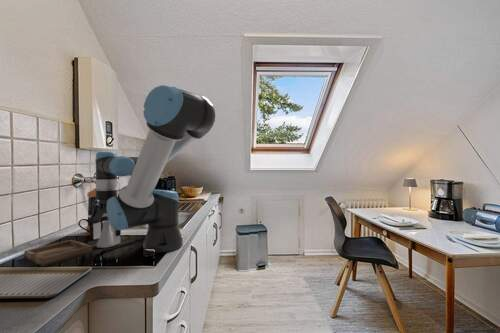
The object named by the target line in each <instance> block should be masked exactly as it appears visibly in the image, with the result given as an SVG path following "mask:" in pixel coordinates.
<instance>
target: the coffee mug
mask: <svg viewBox="0 0 500 333" xmlns="http://www.w3.org/2000/svg"><path fill="white" fill-rule="evenodd" d="M90 217H91V215H89V216H88V215H87V218H81V219H80V220H78V222H77V223H78V224H77V225H78V226H79V228H81V229H82V230H84V231H85V232H86V231H88V232H89V233H90V235H89V236H90V240H94V239H93V223H92V221H90ZM93 218H94V217H93ZM107 220H109V219H108V216H107V214H106V213H104V214H103V216H102V218H101V222H100V223H101V232H102V228H103V223H102V221H107ZM81 221H85V222H87V224H88V223H89V229H90V230H87V229H86V227H83V226H82V225H81ZM98 223H99V222H98ZM97 240H99V238H98V239H97Z"/></svg>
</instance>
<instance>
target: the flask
mask: <svg viewBox="0 0 500 333" xmlns="http://www.w3.org/2000/svg"><path fill="white" fill-rule="evenodd" d="M102 223H103V228H102V232H101V235H100V238H99V239H97V240H98V241H97V243H96V248H98V249H99V248H101V249H102V248H105V249H106V248H110V247H113V246H115V245H113V232H112V231H111V228H110V222H109V220H107V221H102Z"/></svg>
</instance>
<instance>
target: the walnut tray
mask: <svg viewBox="0 0 500 333" xmlns="http://www.w3.org/2000/svg"><path fill="white" fill-rule="evenodd" d="M23 252H24V259H26V260H28V261H30V262H32V263H35V264H37V265H39V266H42V267H43V268H46V267H48V266H52V265H55V264H58V263H63V262H65V261H68V260H72V259H75V258H79V257H82V256H86V255H88V254H92V253H93V246H92V245H91V244H87V243H84V242H80V241H78V240H74V239H69V240H65V241H60V242H57V243H53V244H52V243H51V244H48V245H44V246H43V245H42V246H39V247H36V248H31V249H27V250H23Z"/></svg>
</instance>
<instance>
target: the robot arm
mask: <svg viewBox="0 0 500 333" xmlns="http://www.w3.org/2000/svg"><path fill="white" fill-rule="evenodd" d="M143 108H144V110H142V112H143V117H144V119H145V121H146V127H147V128H148V133H147V135H146V137H145V140H144V143H143V146H142V147H141V150H140V152H139V155H138V156H125V155H124V156H123V155H121V156H119V155H118V154H117V152H116V151H115V152H114V151H97V152H96V154H95V161H94V162H95V188H96V189H97V191H96V199H97V200H95V201H94V207H93V210H92V214H91V217H90V221H92V223H93V239H92V240H99V239H98V238H100V235H101V223H100V222H101V218H102V216H103V214H104V212H105V213H107V216H108V219H109V222H110V224H111V226H112V227H113V232H112V234H113V245H114V246H115V245H119V244H121V236H122V235H121V234H122V231H123V230H129V229H133V228H138V227H141V226H142V227H143V226H146V225H147V231H146V234H145V238H144V240H143V244H142V246H143V250H144V249H154V250H155V252H156V253H167V252H172V251H176V250H178V249H181V248H182V247H183V244H184V243H183V242H184V241H183V240H184V239H183V237H182V234H181V231H180V230H181V229H180V228H179V203H180V201H179V194H178V192H177V191H175V190H166V189H155V188H156V186H157V184H158V182H159V179H160V177H161V175H162V173H163V172H164V170H165V168H166V167H165V166H166V165H167V163H168V162H170V161H171V160H172V159H173V158H174V157H176V156H177V155H178V154H179V153H180V152H182V151H183V150H184V149H186V148H187V147H188V146H189V145H191V143H193V142H194V141H195V140H200V139H202V138H203V137H204V136H206V135H207V134H208V133H209V132H210V131H211V129H212V128H213V126H214V123H215V121H216V111H215V107H214V105H213V103H212V102H211V101H210V100H209V99H208V98H207V97H205V96H203V95H201V94H197V93H194V92H189V91H186V90H184V89H181V88H178V87H175V86H169V85H158V86H156V87H154V88H153V89H152V90H150V92H149V93H148V94H147V96H146V98H145V100H144V103H143ZM128 176H130V178H129V180H128V183H127V185H124V186H123V187H121V189H120V190H119V192H118V190H117V188H118V187H117V186H118V181H117V180H118V177H121V178H122V177H128ZM93 217H94V218H93ZM98 222H99V223H98ZM155 252H154V253H155Z"/></svg>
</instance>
